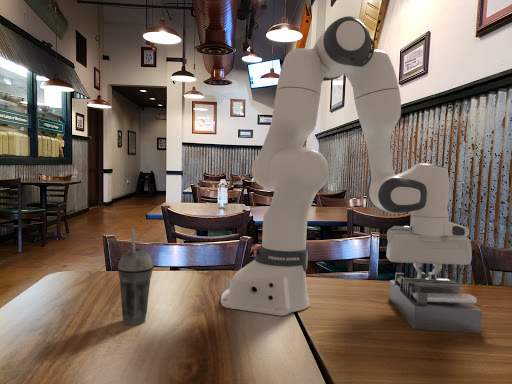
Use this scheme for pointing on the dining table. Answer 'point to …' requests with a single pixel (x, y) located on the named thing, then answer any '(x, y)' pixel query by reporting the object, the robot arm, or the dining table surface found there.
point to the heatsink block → (433, 306)
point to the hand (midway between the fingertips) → (426, 279)
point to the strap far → (415, 278)
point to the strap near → (448, 297)
